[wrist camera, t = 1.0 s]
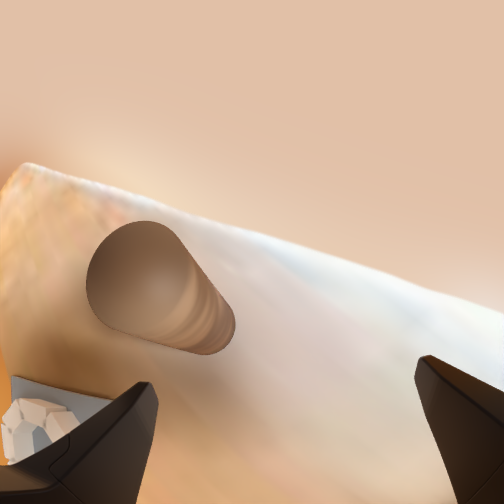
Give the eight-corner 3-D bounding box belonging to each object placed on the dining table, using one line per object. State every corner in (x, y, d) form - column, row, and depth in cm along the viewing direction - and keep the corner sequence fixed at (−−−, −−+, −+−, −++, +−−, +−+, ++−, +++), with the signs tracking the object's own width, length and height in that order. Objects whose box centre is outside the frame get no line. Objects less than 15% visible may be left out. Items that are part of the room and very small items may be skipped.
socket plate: (129, 530, 16) (109, 546, 12) (27, 487, 17) (5, 492, 13) (116, 400, 21) (90, 402, 18) (17, 376, 22) (-9, 372, 19)
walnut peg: (235, 354, 22) (185, 333, 11) (174, 354, 23) (80, 328, 11) (235, 293, 24) (191, 215, 13) (176, 295, 25) (95, 226, 13)
